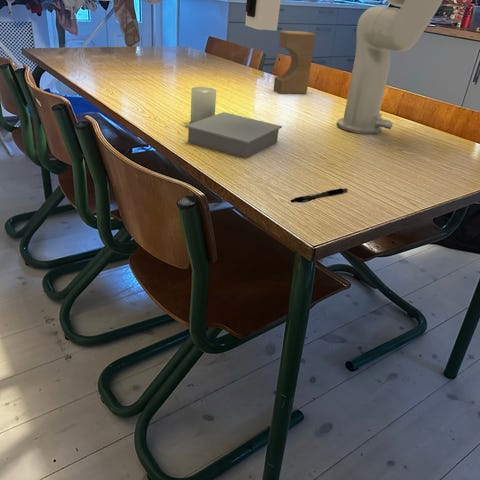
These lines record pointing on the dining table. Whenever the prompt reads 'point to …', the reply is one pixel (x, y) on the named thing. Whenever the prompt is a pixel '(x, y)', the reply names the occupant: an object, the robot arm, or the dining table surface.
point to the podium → (233, 134)
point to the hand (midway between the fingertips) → (261, 16)
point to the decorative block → (296, 62)
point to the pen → (319, 195)
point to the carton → (264, 15)
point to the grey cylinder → (202, 103)
